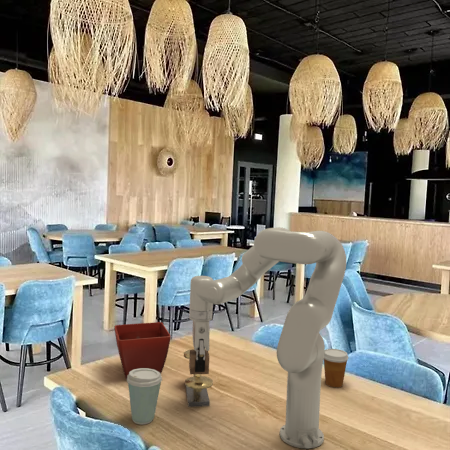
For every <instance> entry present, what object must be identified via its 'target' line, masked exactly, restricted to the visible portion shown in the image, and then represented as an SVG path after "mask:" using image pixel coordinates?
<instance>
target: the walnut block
mask: <svg viewBox="0 0 450 450" xmlns="http://www.w3.org/2000/svg"><path fill="white" fill-rule="evenodd" d="M189 350H190V357H189V359H188V360H189V362H188V363H189V364H188V369H189V374H190V375H194V374H201V375H209V374H210V373H209V372H210V353H209V351H206V349H205V372H195V359H196V351H195V350H192V349H189ZM198 354H199V352H198Z"/></svg>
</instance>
